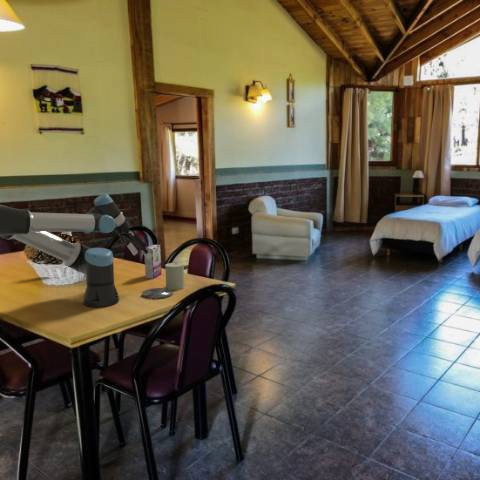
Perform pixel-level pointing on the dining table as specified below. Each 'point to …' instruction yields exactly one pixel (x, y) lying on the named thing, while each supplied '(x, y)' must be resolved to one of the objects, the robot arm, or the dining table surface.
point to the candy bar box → (153, 262)
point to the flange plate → (157, 293)
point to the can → (174, 276)
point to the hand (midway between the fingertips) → (142, 255)
